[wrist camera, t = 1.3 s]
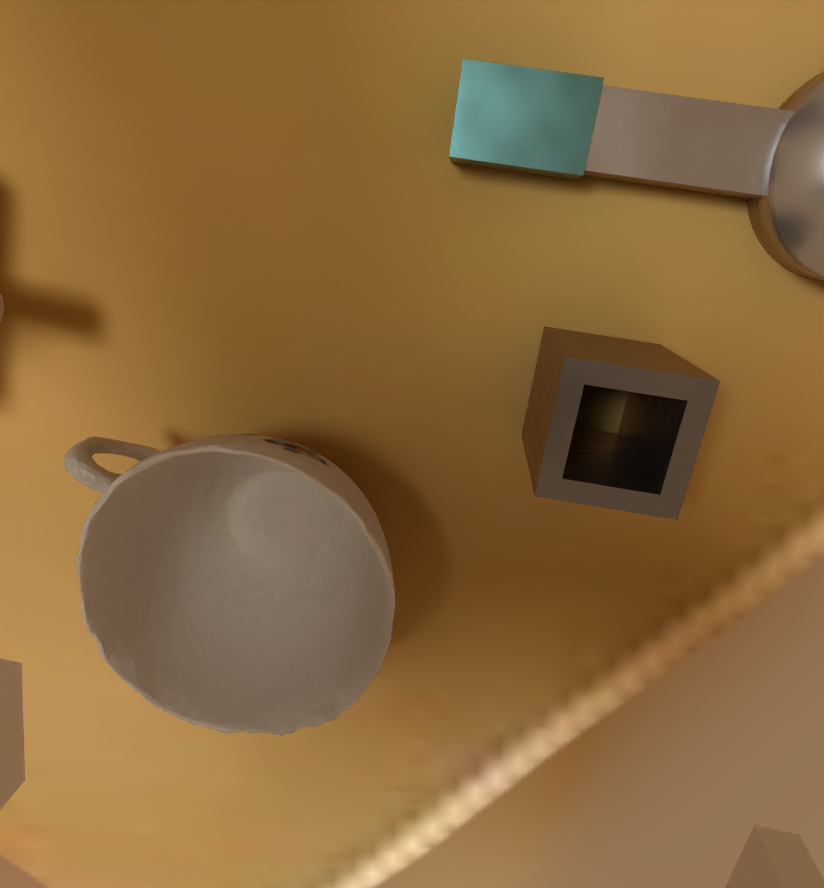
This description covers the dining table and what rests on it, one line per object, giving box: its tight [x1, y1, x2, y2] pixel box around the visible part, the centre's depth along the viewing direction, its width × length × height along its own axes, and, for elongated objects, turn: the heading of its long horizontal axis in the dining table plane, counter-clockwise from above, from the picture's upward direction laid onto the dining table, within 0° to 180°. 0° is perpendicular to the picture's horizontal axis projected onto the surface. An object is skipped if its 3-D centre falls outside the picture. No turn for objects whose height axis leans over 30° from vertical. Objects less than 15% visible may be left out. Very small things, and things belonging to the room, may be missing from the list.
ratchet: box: [449, 59, 824, 281], centre depth 21 cm, size 8×20×7 cm, turn 82°
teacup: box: [64, 434, 395, 736], centre depth 28 cm, size 15×12×8 cm
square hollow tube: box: [522, 327, 720, 520], centre depth 25 cm, size 5×5×7 cm
